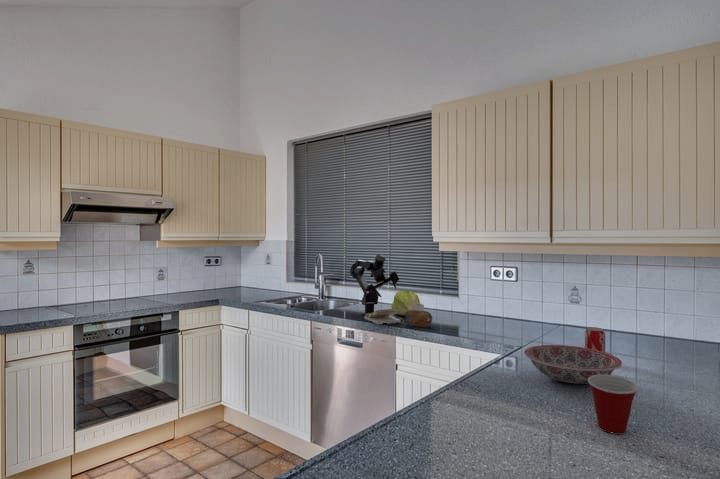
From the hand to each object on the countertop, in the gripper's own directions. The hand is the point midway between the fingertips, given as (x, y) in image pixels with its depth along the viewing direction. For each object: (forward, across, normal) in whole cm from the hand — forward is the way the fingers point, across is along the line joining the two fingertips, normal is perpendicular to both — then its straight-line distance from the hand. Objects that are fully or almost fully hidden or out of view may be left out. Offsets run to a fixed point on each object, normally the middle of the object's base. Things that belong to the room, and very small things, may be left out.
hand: (388, 292), depth 239 cm
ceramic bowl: (+100, +36, -28) cm, 110 cm away
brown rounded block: (+21, +5, +11) cm, 24 cm away
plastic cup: (+127, +28, -54) cm, 141 cm away
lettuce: (-3, +4, +29) cm, 29 cm away
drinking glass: (+15, +6, +17) cm, 23 cm away
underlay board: (+3, -10, +14) cm, 18 cm away
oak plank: (+3, -8, +10) cm, 13 cm away
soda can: (+89, +55, -6) cm, 105 cm away
